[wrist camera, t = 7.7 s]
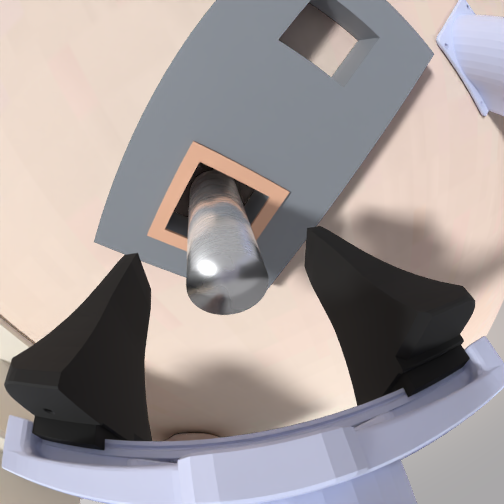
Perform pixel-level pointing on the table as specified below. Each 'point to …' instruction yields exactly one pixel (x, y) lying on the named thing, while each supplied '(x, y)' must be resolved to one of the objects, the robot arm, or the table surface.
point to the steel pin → (222, 248)
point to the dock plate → (260, 125)
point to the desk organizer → (4, 482)
